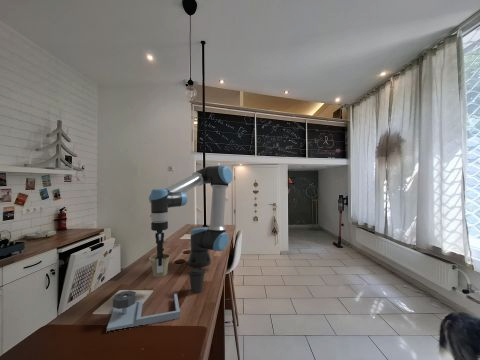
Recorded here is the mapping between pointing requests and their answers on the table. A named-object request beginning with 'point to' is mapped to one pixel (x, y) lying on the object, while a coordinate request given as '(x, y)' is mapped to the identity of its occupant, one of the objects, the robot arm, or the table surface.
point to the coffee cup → (196, 280)
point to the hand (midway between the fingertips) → (160, 268)
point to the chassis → (139, 316)
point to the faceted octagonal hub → (124, 299)
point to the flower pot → (154, 265)
